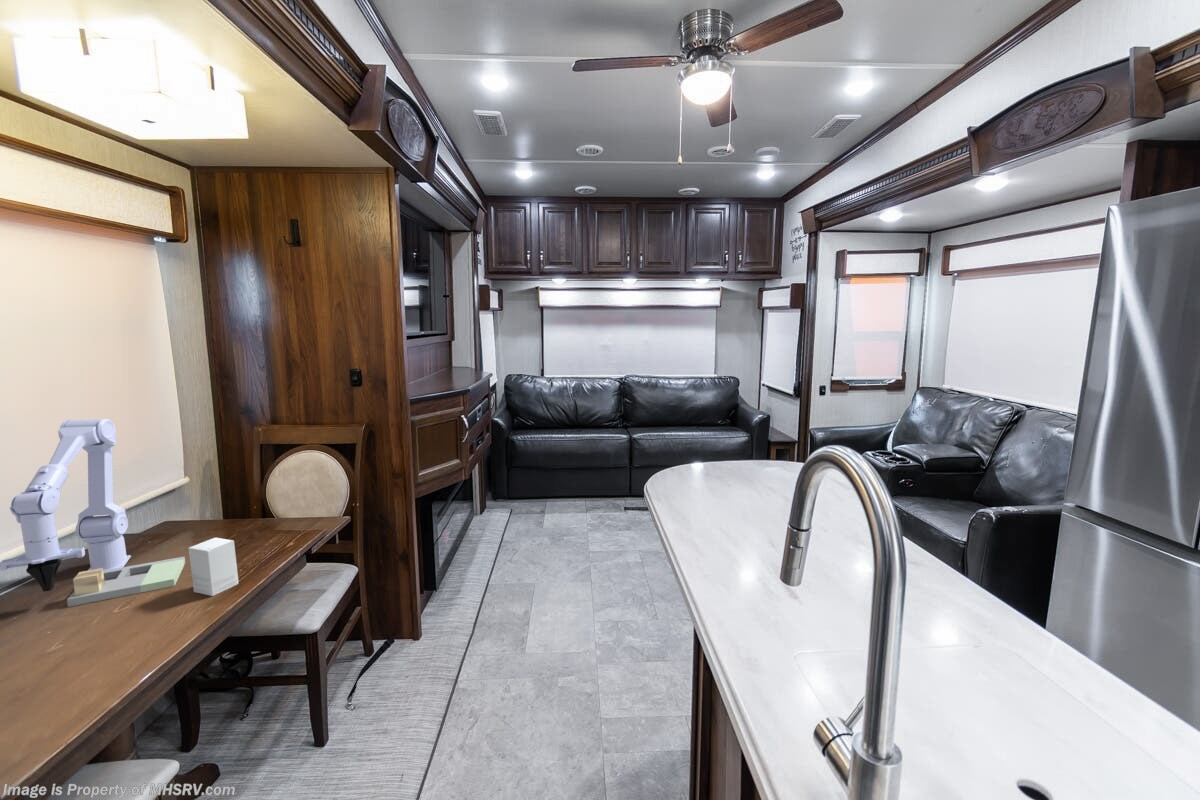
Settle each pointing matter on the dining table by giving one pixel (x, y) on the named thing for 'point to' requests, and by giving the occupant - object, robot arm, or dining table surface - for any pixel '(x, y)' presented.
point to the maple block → (89, 581)
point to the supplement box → (213, 566)
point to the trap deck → (133, 580)
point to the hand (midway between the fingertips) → (48, 589)
